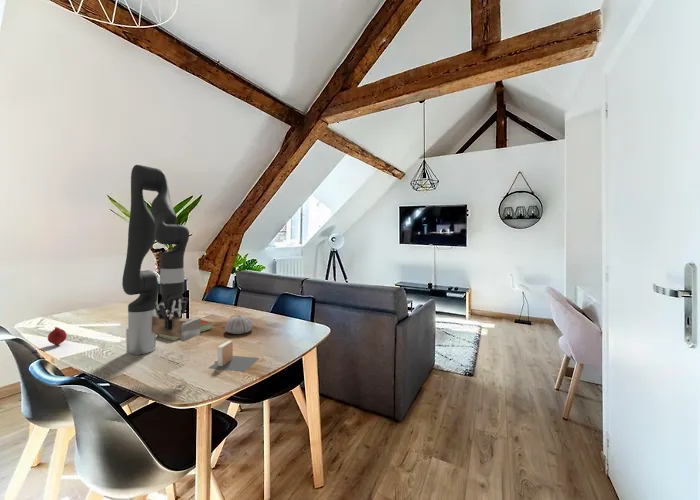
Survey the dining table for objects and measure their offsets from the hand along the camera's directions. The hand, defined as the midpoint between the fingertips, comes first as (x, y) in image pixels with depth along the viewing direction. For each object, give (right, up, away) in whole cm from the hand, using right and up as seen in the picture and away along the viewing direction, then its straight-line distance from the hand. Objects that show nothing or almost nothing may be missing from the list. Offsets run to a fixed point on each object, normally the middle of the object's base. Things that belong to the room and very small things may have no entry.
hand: (172, 328), depth 107 cm
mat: (+20, -15, +6) cm, 26 cm away
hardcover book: (-18, -14, +42) cm, 47 cm away
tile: (+16, -14, +6) cm, 23 cm away
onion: (-62, -13, +22) cm, 67 cm away
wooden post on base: (0, -2, 0) cm, 2 cm away
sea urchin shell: (+7, -13, +44) cm, 47 cm away
